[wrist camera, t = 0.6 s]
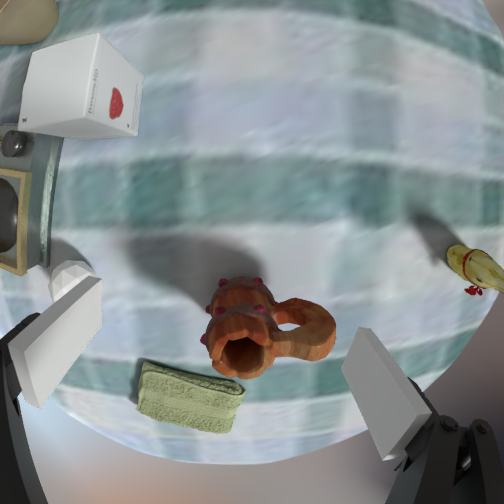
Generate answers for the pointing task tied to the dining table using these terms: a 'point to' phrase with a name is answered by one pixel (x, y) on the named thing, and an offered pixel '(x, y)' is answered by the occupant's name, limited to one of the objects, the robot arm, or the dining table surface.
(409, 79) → the dining table surface
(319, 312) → the mug
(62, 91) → the supplement box
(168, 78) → the dining table surface
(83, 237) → the dining table surface
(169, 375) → the washcloth
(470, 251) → the chocolate bunny
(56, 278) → the geometric ball
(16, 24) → the plant pot
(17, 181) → the grey and gold block
